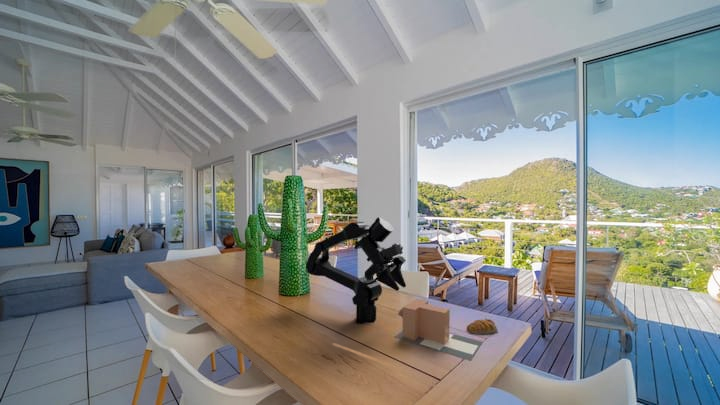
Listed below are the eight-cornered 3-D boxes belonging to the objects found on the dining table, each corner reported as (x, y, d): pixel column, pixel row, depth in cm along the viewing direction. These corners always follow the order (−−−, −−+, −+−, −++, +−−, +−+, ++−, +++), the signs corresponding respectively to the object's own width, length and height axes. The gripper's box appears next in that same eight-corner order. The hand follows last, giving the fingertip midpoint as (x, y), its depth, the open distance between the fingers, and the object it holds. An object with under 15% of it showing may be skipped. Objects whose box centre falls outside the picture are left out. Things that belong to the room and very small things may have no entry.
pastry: (475, 339, 89) (475, 326, 89) (461, 330, 95) (461, 318, 95) (499, 334, 92) (499, 322, 92) (483, 326, 99) (483, 315, 99)
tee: (402, 336, 88) (402, 307, 88) (416, 326, 96) (416, 298, 96) (441, 348, 81) (441, 316, 81) (452, 335, 89) (452, 306, 89)
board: (394, 338, 88) (394, 336, 88) (412, 324, 98) (412, 323, 98) (471, 363, 75) (471, 360, 75) (482, 343, 85) (483, 341, 85)
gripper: (372, 237, 90) (404, 279, 83) (400, 233, 105) (429, 268, 98) (352, 260, 94) (380, 301, 88) (382, 253, 109) (408, 287, 103)
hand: (401, 288), depth 94 cm, fingers open, 4 cm apart
